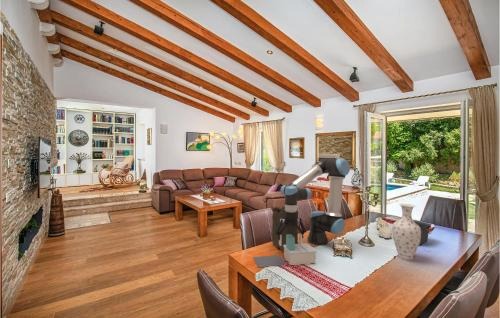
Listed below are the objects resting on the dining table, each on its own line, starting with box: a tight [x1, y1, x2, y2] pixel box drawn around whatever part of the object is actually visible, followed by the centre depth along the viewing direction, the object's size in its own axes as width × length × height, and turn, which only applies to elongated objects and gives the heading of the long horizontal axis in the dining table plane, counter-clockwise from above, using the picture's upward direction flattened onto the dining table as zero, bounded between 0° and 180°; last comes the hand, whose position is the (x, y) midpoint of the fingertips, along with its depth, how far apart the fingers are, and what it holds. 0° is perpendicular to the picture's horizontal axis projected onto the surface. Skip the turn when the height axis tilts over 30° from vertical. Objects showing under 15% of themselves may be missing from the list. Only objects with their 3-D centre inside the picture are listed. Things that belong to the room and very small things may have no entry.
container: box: [271, 205, 299, 254], centre depth 173 cm, size 23×10×30 cm, turn 22°
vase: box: [391, 203, 421, 261], centre depth 159 cm, size 16×16×35 cm
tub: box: [283, 248, 316, 266], centre depth 154 cm, size 16×12×7 cm
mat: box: [252, 254, 286, 269], centre depth 152 cm, size 18×14×1 cm
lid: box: [283, 234, 317, 255], centre depth 154 cm, size 17×13×9 cm
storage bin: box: [413, 220, 433, 246], centre depth 186 cm, size 21×16×14 cm
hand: (290, 244), depth 153 cm, fingers open, 13 cm apart
